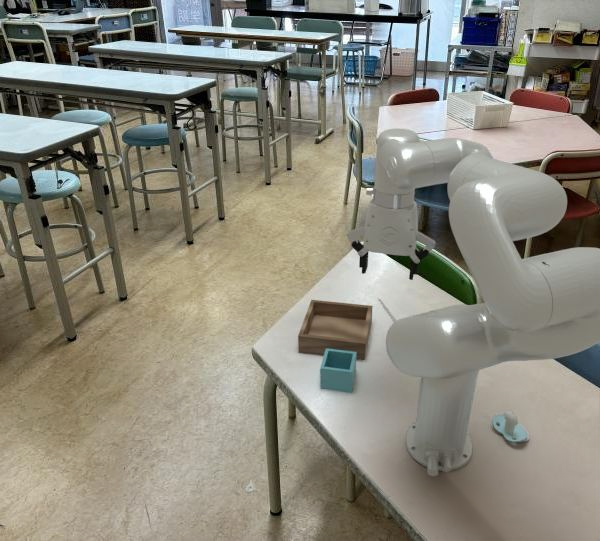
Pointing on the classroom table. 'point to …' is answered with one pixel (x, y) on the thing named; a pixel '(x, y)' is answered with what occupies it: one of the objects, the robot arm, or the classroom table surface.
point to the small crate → (338, 370)
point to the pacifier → (510, 427)
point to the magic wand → (388, 311)
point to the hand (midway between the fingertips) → (387, 273)
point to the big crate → (335, 328)
